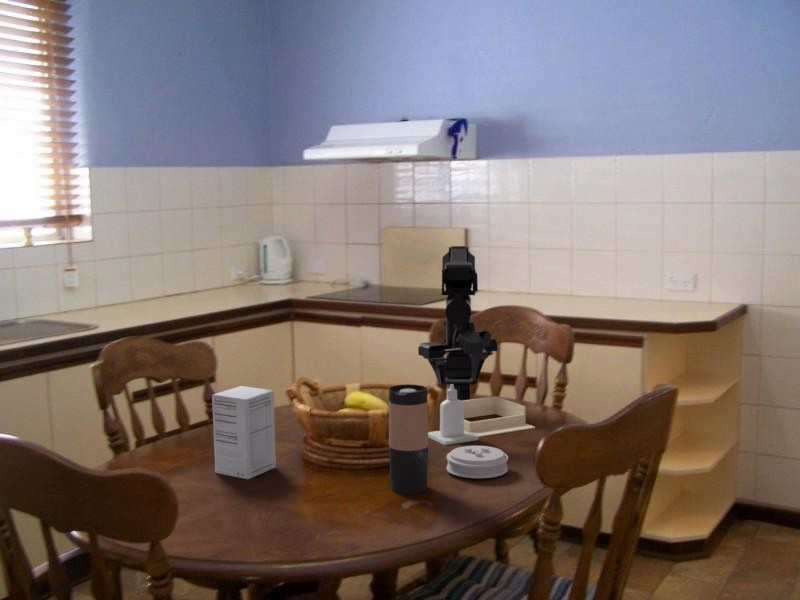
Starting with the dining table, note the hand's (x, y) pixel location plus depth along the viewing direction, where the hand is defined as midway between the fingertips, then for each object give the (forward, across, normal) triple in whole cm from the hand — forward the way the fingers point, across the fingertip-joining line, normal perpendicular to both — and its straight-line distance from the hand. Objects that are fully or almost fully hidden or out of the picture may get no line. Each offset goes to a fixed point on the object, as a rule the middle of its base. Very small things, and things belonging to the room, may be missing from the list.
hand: (458, 383), depth 224 cm
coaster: (+12, -3, -2) cm, 13 cm away
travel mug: (+12, -29, -29) cm, 43 cm away
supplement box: (+12, -53, -2) cm, 55 cm away
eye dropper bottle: (+12, -3, -2) cm, 12 cm away
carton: (+13, +11, +5) cm, 17 cm away
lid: (+12, -12, -27) cm, 32 cm away
